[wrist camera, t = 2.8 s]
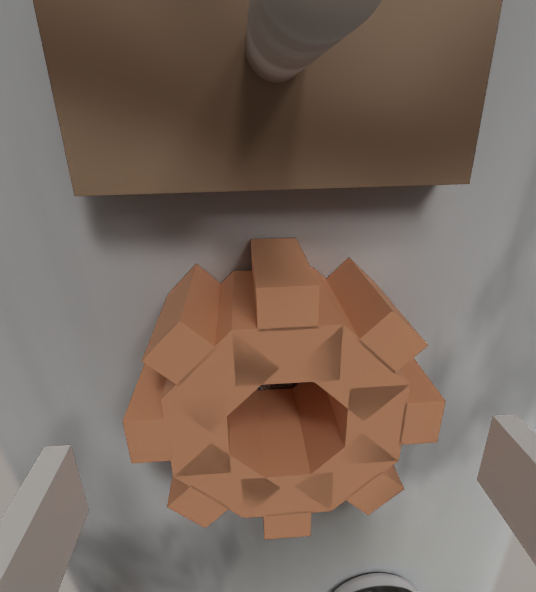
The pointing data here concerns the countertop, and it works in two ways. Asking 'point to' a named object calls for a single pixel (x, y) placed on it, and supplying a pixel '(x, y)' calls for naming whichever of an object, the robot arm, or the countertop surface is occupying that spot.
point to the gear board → (267, 92)
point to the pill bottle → (377, 584)
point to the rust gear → (280, 392)
